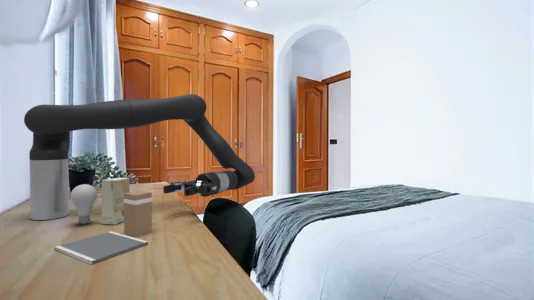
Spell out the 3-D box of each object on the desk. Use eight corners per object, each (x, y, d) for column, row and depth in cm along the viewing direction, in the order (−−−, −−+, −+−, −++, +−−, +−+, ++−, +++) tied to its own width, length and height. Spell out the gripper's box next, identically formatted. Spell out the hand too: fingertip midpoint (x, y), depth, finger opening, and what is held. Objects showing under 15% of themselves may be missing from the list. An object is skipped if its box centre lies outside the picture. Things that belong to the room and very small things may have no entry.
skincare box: (114, 225, 76) (114, 180, 76) (101, 224, 77) (100, 179, 77) (130, 219, 83) (130, 177, 82) (117, 218, 84) (117, 177, 83)
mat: (54, 249, 59) (54, 246, 59) (110, 233, 70) (110, 231, 69) (91, 264, 52) (91, 261, 52) (147, 244, 62) (147, 241, 62)
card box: (123, 233, 70) (123, 193, 69) (140, 228, 74) (140, 190, 73) (135, 237, 67) (135, 195, 67) (152, 231, 71) (151, 192, 71)
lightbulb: (65, 225, 76) (64, 185, 75) (87, 220, 81) (87, 182, 81) (80, 228, 73) (80, 186, 73) (102, 222, 79) (102, 183, 79)
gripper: (196, 171, 97) (157, 176, 83) (229, 173, 90) (192, 179, 76) (197, 192, 98) (157, 201, 84) (229, 196, 90) (193, 207, 76)
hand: (174, 191), depth 80 cm, fingers open, 8 cm apart
